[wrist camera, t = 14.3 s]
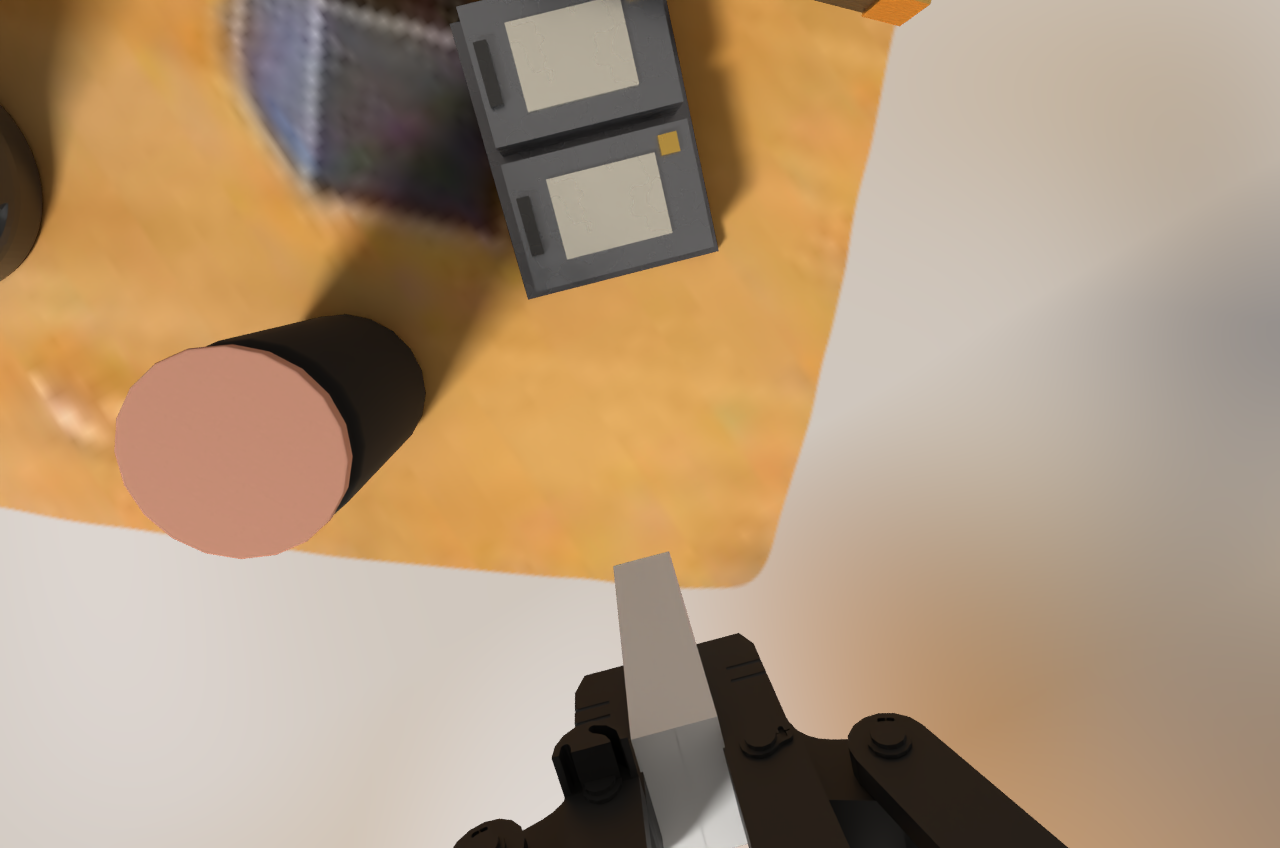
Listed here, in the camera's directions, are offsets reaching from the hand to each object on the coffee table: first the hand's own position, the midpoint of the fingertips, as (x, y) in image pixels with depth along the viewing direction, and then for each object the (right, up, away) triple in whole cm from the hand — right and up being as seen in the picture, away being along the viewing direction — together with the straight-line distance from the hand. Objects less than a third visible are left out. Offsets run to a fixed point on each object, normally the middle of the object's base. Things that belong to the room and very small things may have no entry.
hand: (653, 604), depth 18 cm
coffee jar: (-21, +8, +32) cm, 39 cm away
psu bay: (-4, +24, +29) cm, 38 cm away
